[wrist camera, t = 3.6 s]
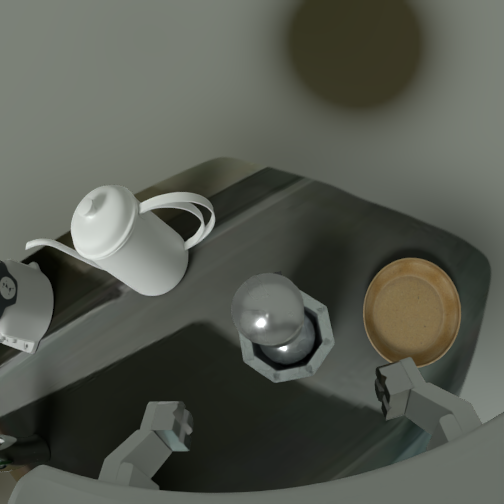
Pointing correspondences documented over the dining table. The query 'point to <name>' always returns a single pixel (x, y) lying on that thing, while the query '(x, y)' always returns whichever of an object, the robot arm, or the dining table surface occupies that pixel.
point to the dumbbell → (273, 317)
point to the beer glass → (22, 451)
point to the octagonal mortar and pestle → (304, 366)
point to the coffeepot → (133, 237)
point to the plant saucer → (412, 311)
